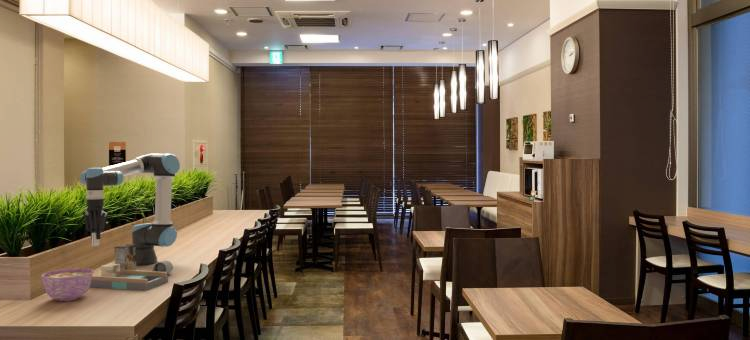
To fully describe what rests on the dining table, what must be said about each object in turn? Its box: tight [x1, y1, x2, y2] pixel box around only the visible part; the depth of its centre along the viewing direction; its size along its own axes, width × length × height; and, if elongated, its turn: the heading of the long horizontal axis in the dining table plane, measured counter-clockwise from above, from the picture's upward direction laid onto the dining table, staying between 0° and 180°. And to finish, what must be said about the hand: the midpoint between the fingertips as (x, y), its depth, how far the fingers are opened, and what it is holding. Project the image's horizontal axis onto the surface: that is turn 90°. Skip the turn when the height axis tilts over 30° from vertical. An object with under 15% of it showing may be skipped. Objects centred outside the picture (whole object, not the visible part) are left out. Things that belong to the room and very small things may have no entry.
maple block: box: [100, 263, 120, 277], centre depth 262 cm, size 6×6×6 cm
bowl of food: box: [41, 267, 94, 302], centre depth 233 cm, size 20×20×12 cm
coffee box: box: [114, 243, 137, 270], centre depth 277 cm, size 9×6×16 cm
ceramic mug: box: [152, 260, 174, 275], centre depth 280 cm, size 11×8×8 cm
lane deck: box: [89, 269, 169, 291], centre depth 260 cm, size 18×32×5 cm, turn 77°
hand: (95, 245), depth 263 cm, fingers closed
